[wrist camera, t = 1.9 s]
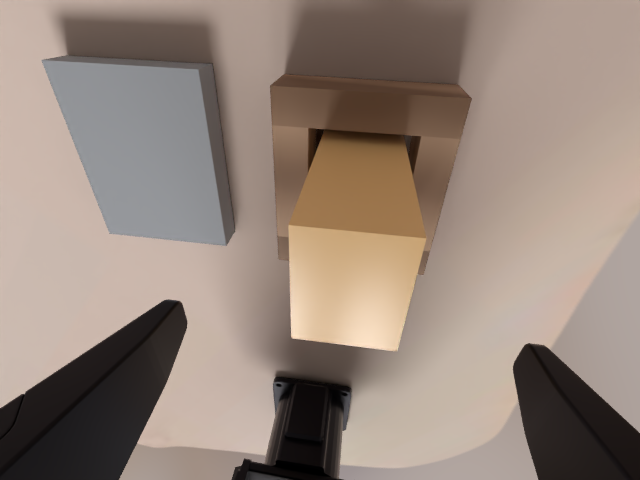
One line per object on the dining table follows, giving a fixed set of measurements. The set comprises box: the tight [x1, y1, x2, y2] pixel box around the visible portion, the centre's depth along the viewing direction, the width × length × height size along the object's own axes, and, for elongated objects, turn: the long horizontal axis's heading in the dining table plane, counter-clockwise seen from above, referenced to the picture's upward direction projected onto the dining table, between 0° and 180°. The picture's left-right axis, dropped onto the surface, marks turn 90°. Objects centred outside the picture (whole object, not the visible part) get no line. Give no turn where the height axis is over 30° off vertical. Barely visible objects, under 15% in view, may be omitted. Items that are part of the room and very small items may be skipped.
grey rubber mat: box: [42, 56, 235, 246], centre depth 18 cm, size 9×7×2 cm
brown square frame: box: [270, 74, 472, 275], centre depth 16 cm, size 8×8×2 cm
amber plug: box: [288, 129, 427, 351], centre depth 14 cm, size 4×4×9 cm
